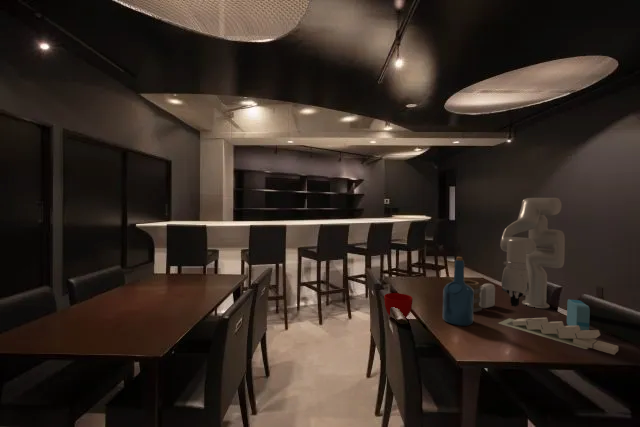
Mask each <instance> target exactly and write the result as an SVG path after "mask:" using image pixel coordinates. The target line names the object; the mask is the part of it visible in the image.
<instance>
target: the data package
mask: <svg viewBox="0 0 640 427" xmlns="http://www.w3.org/2000/svg"><path fill="white" fill-rule="evenodd" d="M566 306H567V307H566V324H567V325H566V326H576V325H579V327H580V330H590V315H591V314H590V313H591V310H590V306H589V305H587V304H586V303H585V302H583V301H582V300H578V299H570V298H569V299H567V304H566Z"/></svg>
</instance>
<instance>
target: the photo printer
mask: <svg viewBox="0 0 640 427" xmlns="http://www.w3.org/2000/svg"><path fill="white" fill-rule="evenodd" d="M479 288H481V293H479V297H480V302H479V306H480V307H481V308H482V309H487V308H492V307H495V304H496V303H495V301H496V286H495V285H494V284H493V283H483V284H482V285H480V286H479Z"/></svg>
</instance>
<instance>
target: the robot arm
mask: <svg viewBox="0 0 640 427" xmlns="http://www.w3.org/2000/svg"><path fill="white" fill-rule="evenodd" d="M520 206H521V207H520V210H519V214H518V217H517V220H515V221H513V222H512V223H510V224H509V225H507V227H506V228H504V230H503V232H502V235H501V238H500V245H499V247H500V249H501V250H502V251H503V252H506V261H503V263H502V264H503V265H505V267H504V269H503V272H502V278H501V290H502V291H504V292H505V293H507V294H508V295H509V297H510V304H511V305H510V306H511V307H515V308H517V307H519V305H520V298H521V297H522V296H523V297H524V296H525V299H524V300H522V301H521V304H522V305H524V306H526V305H527V307H530V308H534V307H535V309H550V307H551V306H550V304H548V303H547V290H548V288H547V287H548V286H547V285H548V274H547V272H546V270H545V269H544V267H545V268H546V267H547V268H553V269H560V268H561V269H562V268H563V267H564V264H565V248H566V246H565V244H566V239H565V238H566V237H565V233H564V231H563V230H559V229H552V228H551V229H550V228H548V225H549V224H548V222H549V221H548V218H547V217H546V216H554V215H558V214H559V213H560V212H561V210H562V206H563V205H562V201H561V200H560V198H558V197H527V198H524V199H523V200H522V201H521V205H520ZM527 231H528V237H519V236H515V235H517V234H520V233H524V232H527ZM539 247H547V248H539ZM548 248H549V249H548ZM551 248H552V249H551Z"/></svg>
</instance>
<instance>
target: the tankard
mask: <svg viewBox="0 0 640 427" xmlns="http://www.w3.org/2000/svg"><path fill="white" fill-rule="evenodd" d="M443 279H444V281H449V282H448V283H450V282H453V281H454V278H452V277H450V276H449V275H447V276H446V275H445V276H444V277H443ZM464 282H465V283H466V284H467V285H469V286H470V287H472V289H473V290H474V313H478V312H481V311H483V310H482V309H483V308H481V307H480V306H479V302H480V297H479V293H481V288H480V283H479V282H478V281H476V280H471V279H464Z"/></svg>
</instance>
